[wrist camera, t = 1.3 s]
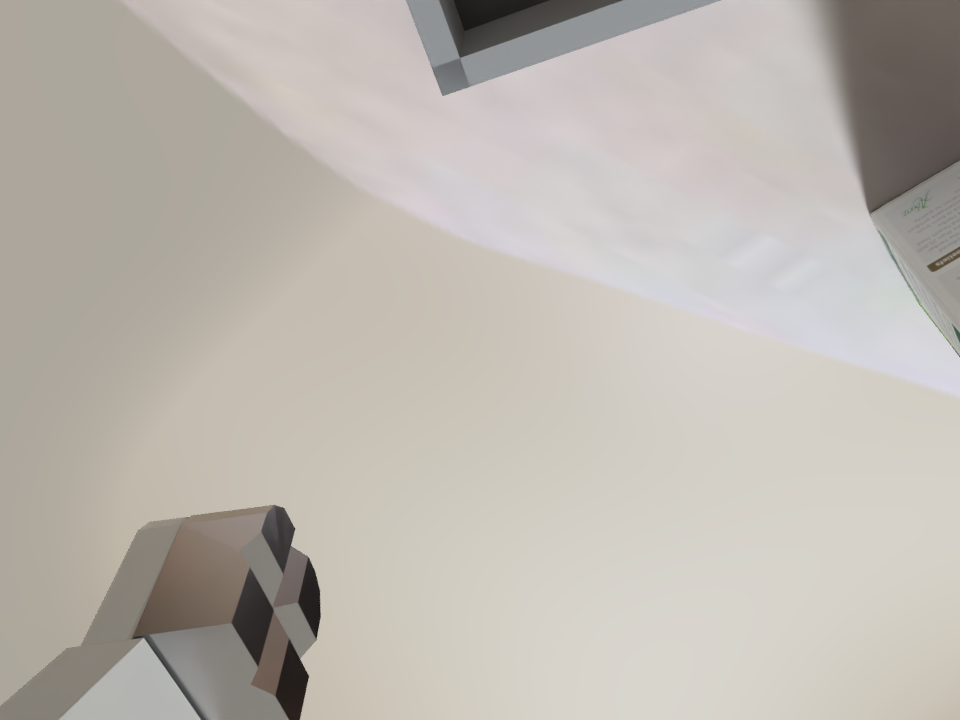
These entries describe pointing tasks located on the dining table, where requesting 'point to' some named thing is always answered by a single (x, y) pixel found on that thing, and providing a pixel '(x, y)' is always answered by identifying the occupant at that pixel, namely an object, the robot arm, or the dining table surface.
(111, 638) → the robot arm
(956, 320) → the syrup box
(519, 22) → the tray box
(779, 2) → the dining table surface
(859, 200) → the dining table surface
